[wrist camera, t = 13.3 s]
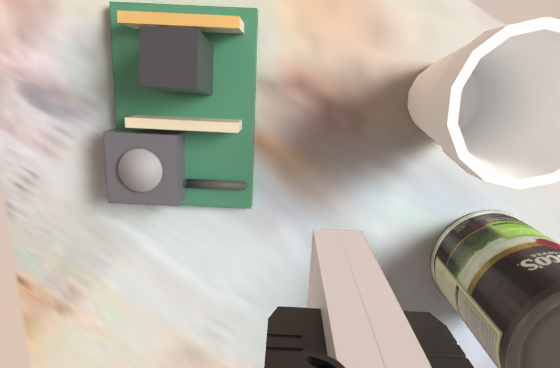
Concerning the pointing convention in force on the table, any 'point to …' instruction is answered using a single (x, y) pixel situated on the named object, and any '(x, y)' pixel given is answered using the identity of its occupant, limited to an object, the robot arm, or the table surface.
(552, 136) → the foam cup
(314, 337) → the robot arm
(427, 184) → the table surface
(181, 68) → the plug
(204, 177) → the board
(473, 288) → the coffee can
